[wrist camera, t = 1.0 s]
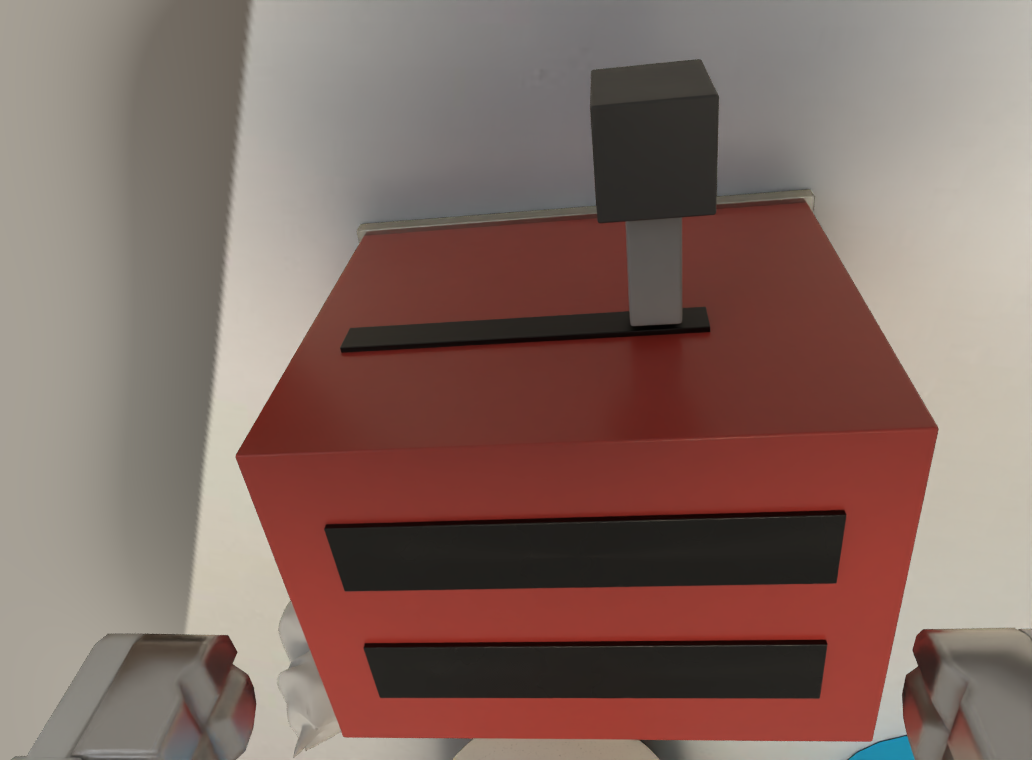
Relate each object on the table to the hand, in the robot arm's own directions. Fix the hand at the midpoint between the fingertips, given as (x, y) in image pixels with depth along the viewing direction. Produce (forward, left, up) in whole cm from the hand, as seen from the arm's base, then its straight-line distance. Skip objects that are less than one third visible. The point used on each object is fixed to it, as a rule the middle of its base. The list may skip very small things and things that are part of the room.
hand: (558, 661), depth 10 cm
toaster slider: (-1, +2, -12) cm, 13 cm away
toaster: (+7, 0, -19) cm, 20 cm away
